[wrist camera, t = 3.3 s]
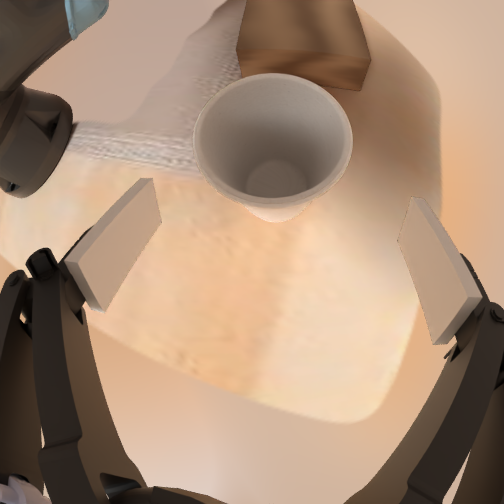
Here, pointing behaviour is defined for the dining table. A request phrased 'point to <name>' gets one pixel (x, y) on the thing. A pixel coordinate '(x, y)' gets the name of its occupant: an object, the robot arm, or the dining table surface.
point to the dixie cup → (272, 144)
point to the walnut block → (304, 41)
